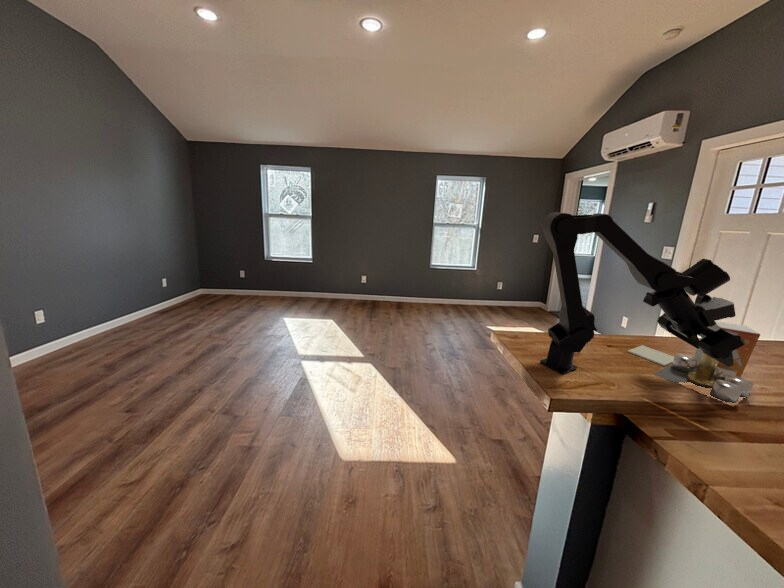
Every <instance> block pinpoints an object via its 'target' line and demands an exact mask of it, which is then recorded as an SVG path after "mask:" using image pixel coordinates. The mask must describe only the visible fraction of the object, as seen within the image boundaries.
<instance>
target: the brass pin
mask: <svg viewBox="0 0 784 588" xmlns="http://www.w3.org/2000/svg"><path fill="white" fill-rule="evenodd" d="M718 363H719V361H717V360H715V359H714V358H712V357H710V356H708V355H707V354H705V353H703V355H702V358H701V360H700V363H699V365H698V366H697V368H696V369H697V370H696V372H689V374H688V377H687V380H688V381H689V382H691V383H693V384H695V385H697V386H701V387H705V388H712V387H713V385H714V382H715V379H714V378H712V377H713V375H714V372H715V370H716V367H717V365H718Z"/></svg>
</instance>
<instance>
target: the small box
mask: <svg viewBox="0 0 784 588" xmlns="http://www.w3.org/2000/svg"><path fill="white" fill-rule="evenodd" d="M714 321H715V322H716V325H714V326H712V327H710V326H709V327H708V328H709V329H712V330H714V331H717V330H719V329H726V330H729V331H731V332H733V333H735V334H738V335H740V336H741V337H742V339H743V340H744V342H745V345H743V346H741V347H739V348H737V349H736V350H734V351H733V362H734V365H732V366H730V367H729V368H732V369H734V370H735V371H736V372H737V373H736V376H738V377H742V375H743V373H744V371H745V370H746V367H747V365H748V362H749V361H750V358H751V356H752V354H753V352H754V349H755V347H756V346H757V344H758V340H759V338H760V336H761V333H760V332H757V331H756V330H754V329H752V328H751V327H749V326H747V325H742V324H737V323H732V322H725V321H719V320H714ZM701 339H703V337H701V336H700V338H699V340H701ZM702 355H703V351H702V350H701V349H700V348H699V349H697V348H695V352H694V355H693V356H692V357H693V358H695V359H696V360H697V363H696V366H697V367H698V365H699V363H700V360H701V358H702ZM718 364H719V365H723V366H726V365H724V364H722V363H721V362H719V363H718ZM727 367H728V366H727Z"/></svg>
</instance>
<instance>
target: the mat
mask: <svg viewBox="0 0 784 588" xmlns="http://www.w3.org/2000/svg"><path fill="white" fill-rule="evenodd" d="M671 365H672V364H669V365H667V366H665V367H664V368H662V369H660V370H657V371H656V372H654V373H653V375H654V376H656V377H660V378H661V379H665V380H666V381H669V382H671V383H674V384H676V385H678V384H677V383H679V382H684V383H685V382H686V383H687V382H689V381H688V380H687V377H688V374H686V373H682V372H679V371H677V370H675V369H673V368H672V367H671ZM696 370H697V368H694V371H693V372H696Z"/></svg>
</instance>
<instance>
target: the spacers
mask: <svg viewBox="0 0 784 588" xmlns="http://www.w3.org/2000/svg"><path fill="white" fill-rule="evenodd" d="M673 357H674V360H673V362H672V363H671V364H670V365H671V367H672V368H673V369H675V370H677V371H679V372H682V373H686V374H689V372H693V371H694V368H695V367H696V366H697V365H696V363H697V360H696V359H695V358H693V357H694V356H690V355H688V354H683V353H675V355H674V356H673ZM695 369H696V368H695ZM736 373H737V372H736V371H735V370H734V369H732V368H729V367H727V366H723V365H719V364H718V365H717V367H716V370H715V372H714V375H713V377H712V378H714V379H715V382H714V385H713V387H712V390H711V392H710V395H711V396H713V397H715V398H717V399H720V400H722V401H725V402H732V403H736V402H737V401H738V399H739V397H747V398H748V397H749V396H750V395H749V393H750V391H751V390H753V386H754V383H753V382H752V381H751V380H749V379H746V378H743V377H742V376H741V377H738V376H736Z"/></svg>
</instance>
